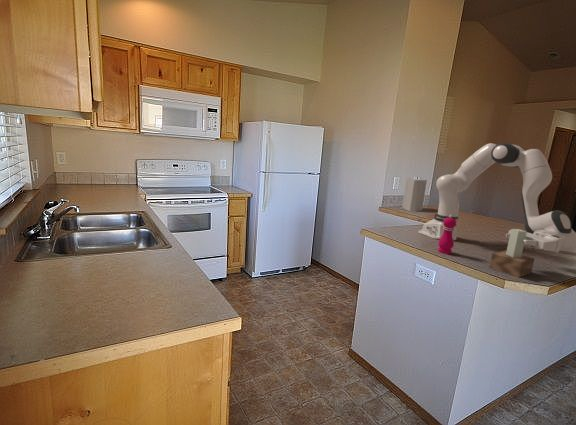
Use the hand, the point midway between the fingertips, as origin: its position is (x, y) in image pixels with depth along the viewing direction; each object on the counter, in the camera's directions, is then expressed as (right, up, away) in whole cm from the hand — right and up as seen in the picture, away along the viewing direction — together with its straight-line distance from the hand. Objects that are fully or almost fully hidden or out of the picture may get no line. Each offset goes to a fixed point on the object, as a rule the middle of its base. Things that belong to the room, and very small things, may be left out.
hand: (515, 238), depth 142 cm
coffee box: (+47, -10, +45) cm, 66 cm away
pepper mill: (-20, -9, +25) cm, 33 cm away
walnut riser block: (0, -15, +3) cm, 15 cm away
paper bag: (+14, +14, +152) cm, 153 cm away
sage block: (0, -8, +2) cm, 8 cm away
